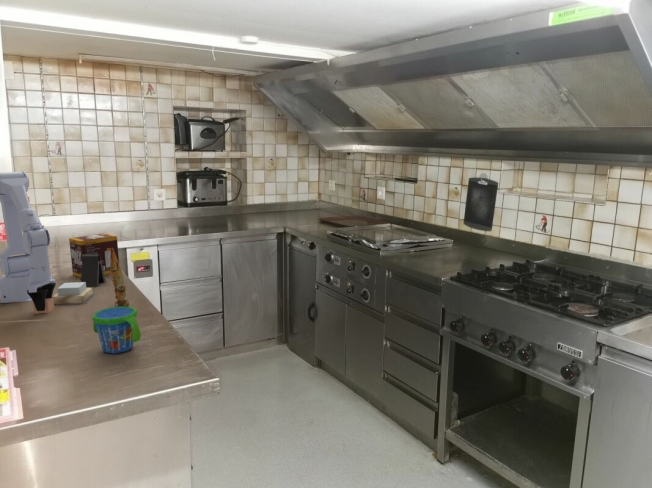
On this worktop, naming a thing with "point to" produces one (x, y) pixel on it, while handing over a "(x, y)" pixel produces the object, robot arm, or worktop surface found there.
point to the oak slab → (73, 297)
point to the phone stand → (92, 270)
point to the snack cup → (116, 328)
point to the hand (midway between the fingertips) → (43, 308)
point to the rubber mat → (79, 303)
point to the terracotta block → (46, 306)
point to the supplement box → (93, 250)
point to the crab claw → (118, 280)
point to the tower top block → (72, 288)
